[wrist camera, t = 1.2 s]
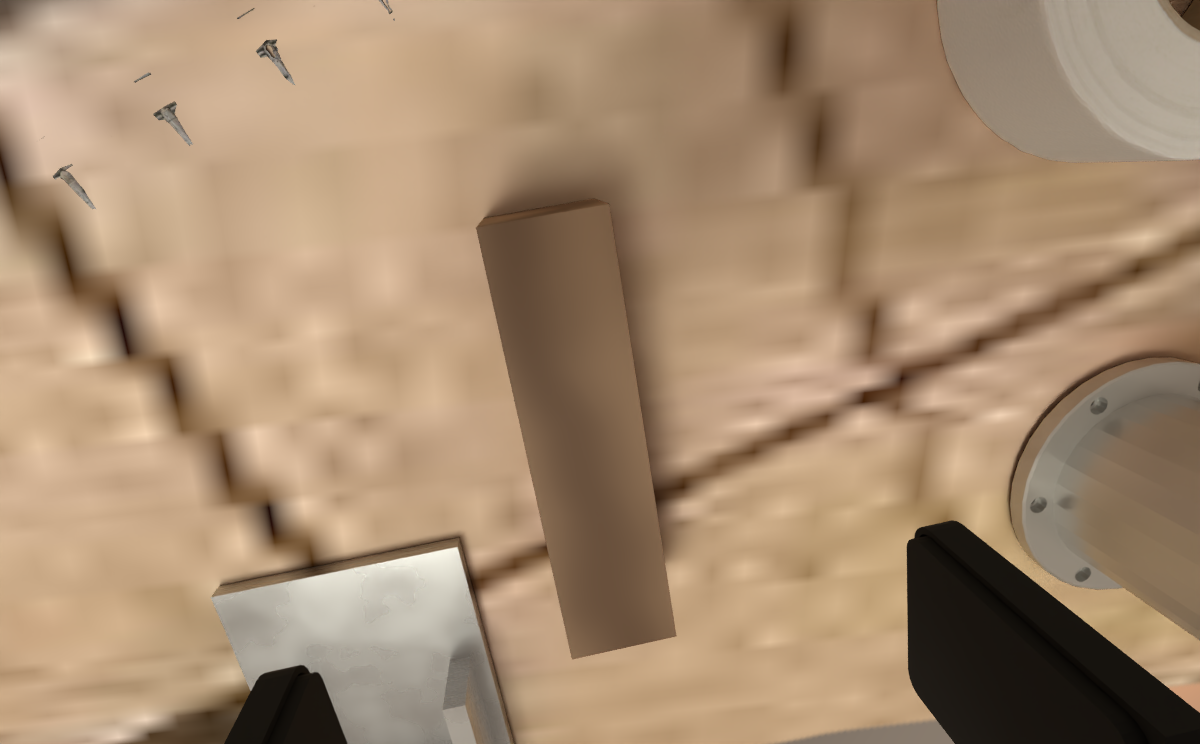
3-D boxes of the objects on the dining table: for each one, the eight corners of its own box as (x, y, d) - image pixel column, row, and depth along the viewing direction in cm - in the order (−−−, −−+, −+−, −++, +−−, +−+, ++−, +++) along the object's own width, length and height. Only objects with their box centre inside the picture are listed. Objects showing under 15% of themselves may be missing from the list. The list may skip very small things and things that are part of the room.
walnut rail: (593, 198, 26) (608, 203, 21) (653, 566, 32) (676, 636, 27) (484, 217, 26) (476, 227, 21) (564, 586, 31) (572, 659, 27)
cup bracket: (459, 537, 30) (450, 587, 26) (519, 761, 34) (518, 830, 30) (219, 586, 29) (175, 645, 25) (311, 808, 33) (285, 885, 30)
